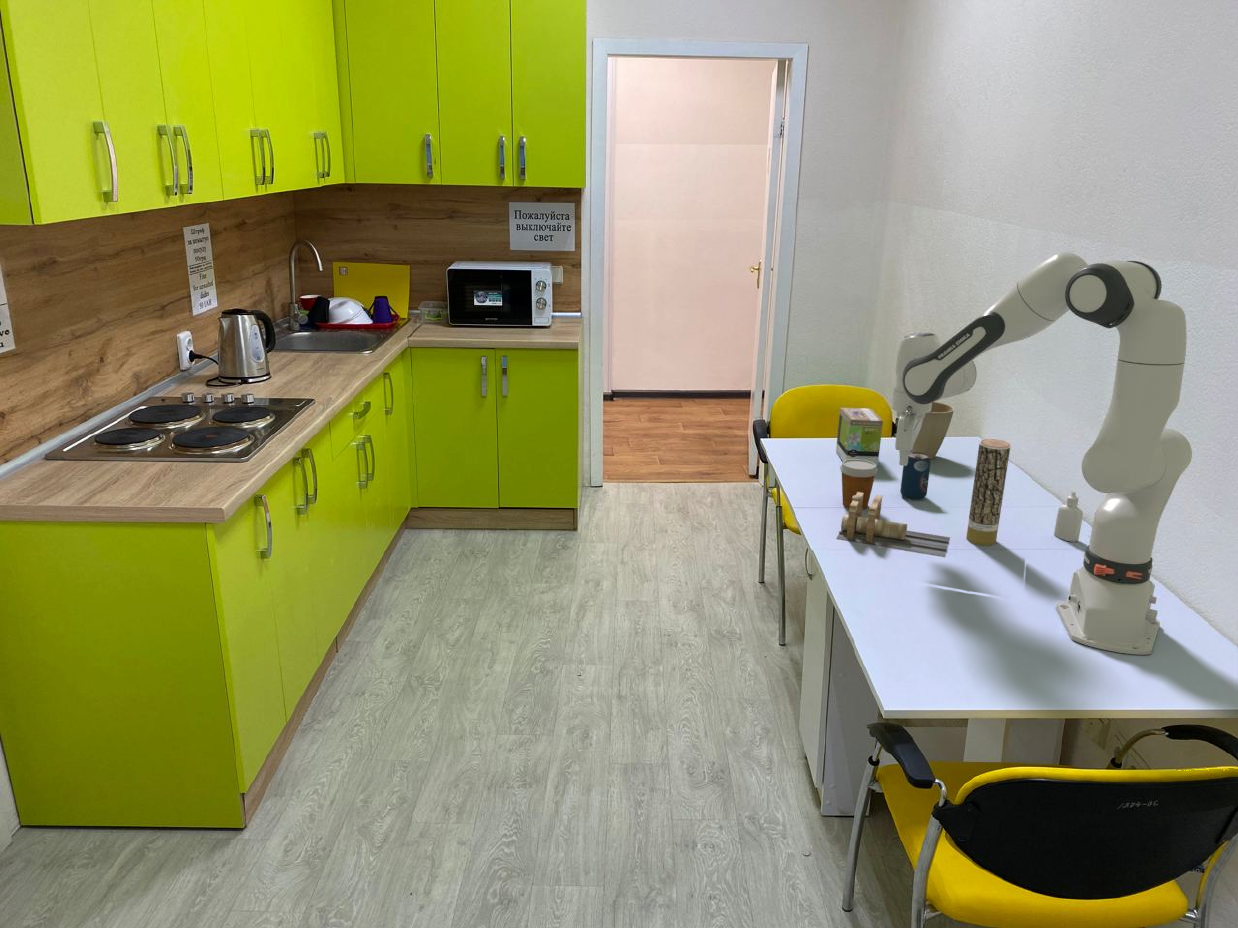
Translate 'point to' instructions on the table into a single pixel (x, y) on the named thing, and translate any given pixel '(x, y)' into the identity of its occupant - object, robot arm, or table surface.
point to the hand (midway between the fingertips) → (905, 459)
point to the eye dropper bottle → (1069, 520)
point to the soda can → (915, 477)
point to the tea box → (859, 434)
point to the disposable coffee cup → (857, 480)
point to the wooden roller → (878, 527)
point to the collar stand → (912, 541)
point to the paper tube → (988, 491)
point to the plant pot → (933, 429)
